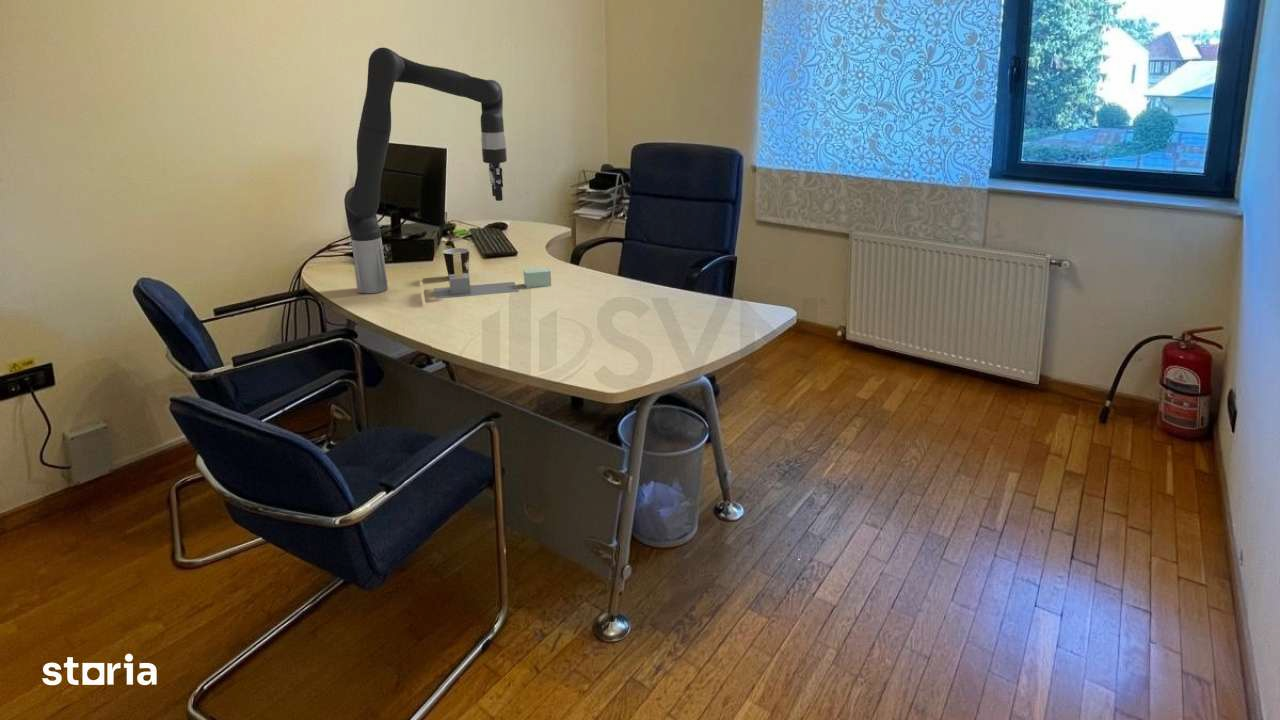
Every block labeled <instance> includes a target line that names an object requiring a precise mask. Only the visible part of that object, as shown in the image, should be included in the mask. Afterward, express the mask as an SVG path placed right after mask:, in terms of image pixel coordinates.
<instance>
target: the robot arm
mask: <svg viewBox="0 0 1280 720" xmlns="http://www.w3.org/2000/svg"><path fill="white" fill-rule="evenodd" d="M367 65H368V66H367V67H368V68H367V79H366V80H367V82H366V83H367V84H366V92H365V96H364V97H365V98H364V102H363V106H362V111H361V116H360V120H359V126H358V132H357V135H356V136H357V137H356V163H357V165H356V166H357V169H356V177H355V181H354V185H353V186H352V187H350V188H349V189H347V191H346V193H345V195H344V198H343V199H344V201H343V202H344V209H345V216H346V221H347V222H346V223H347V227H348V231H349V233H350V234H349V235H350V239H351V240H350V241H351V247H352V254H353V261H354V262H353V263H354V264H353V266H354V273H355V281H356V288H357V293H358V294H377V293H381V292H382V293H383V292H386V291H387V290H388V289H389V287H388V279H387V270H386V263H385V256H384V247H383V241H382V231H381V227H380V224H379V222H378V218H377V212H378V209H379V207H380V199H381V198H380V197H381V183H382V175H383V171H384V167H385V163H386V162H385V161H386V157H387V154H388V153H387V152H388V149H389V142H390V138H391V131H392V110H391V109H392V108H391V107H392V106H391V103H392V94H393V89H394V85H395V83H405V84H412V85H418V86H422V87H426V88H430V89H433V90H435V91H438V92H442V93H445V94H448V95H453V96H457V97H461V98H462V97H463V98H467V99H470V100H472V101H475V102H477V103H480V106H481V107H480V108H481V114H480V131H481V137H480V138H481V139H480V140H481V141H480V142H481V152H482V153H481V155H482V162H483V163H484V164H488V174H489V181H490V184H491V191H492V192H491V194H492V197H494V198H495V199H494V200H495V201H497V202H500V201H503V187H504V183H503V181H504V178H503V172H504V171H503V168H502V167H501V164H502V163H507V161H508V160H507V159H508V158H507V144H506V143H507V141H506V136H505V132H504V131H505V126H504V118H503V108H504V107H503V103H504V102H503V96H504V95H503V89H502V86H501V84H500V83H499V82H498V81H497V80H494V79H484V78H479V77H475V76H471V75H469V74H467V73H465V72H461V71H458V70H453V69H449V68H446V67H445V68H444V67H438V66H432V65H426V64H423V63H420V62H419V63H418V62H415V61H413V60H411V59H408V58H406V57H403V56H401V55H399V54H398V53H397V52H396V51H393V50H392V49H390V48H387V47H383V46H382V47H379V48H376V49H375V50H373V51H372V52H371V53H370V55H369V58H368V64H367Z"/></svg>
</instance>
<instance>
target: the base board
mask: <svg viewBox="0 0 1280 720" xmlns="http://www.w3.org/2000/svg"><path fill="white" fill-rule="evenodd" d="M448 282H449V286H447V287H438V288H433V293H434V299H435V300H439V299H449V298H450V299H451V298H463V297H473V296H475V297H476V296H485V295H496V294H497V295H498V294H509V293H519V292H520V291H519V288H518V286H517V284H516V283H515V281H508V282H497V283H485V284H483V283H482V284H473V285H471V284H470V283H471V282H470V276H468V273H463V277H462V278H455V274H450V275H449V276H448Z"/></svg>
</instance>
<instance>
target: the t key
mask: <svg viewBox="0 0 1280 720" xmlns="http://www.w3.org/2000/svg"><path fill="white" fill-rule="evenodd" d="M453 262H454V273H455V278H462V277H463V273H462V262H461V252H453Z"/></svg>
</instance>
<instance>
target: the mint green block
mask: <svg viewBox="0 0 1280 720" xmlns="http://www.w3.org/2000/svg"><path fill="white" fill-rule="evenodd" d="M551 275H552V274H551V270H550V268H549V267H540V268H538V267H537V268H527V269H524V268H523V279H524V282H523V284H524V286H525V287H526V289H531V288H541V287H551V286H552V276H551Z"/></svg>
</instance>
